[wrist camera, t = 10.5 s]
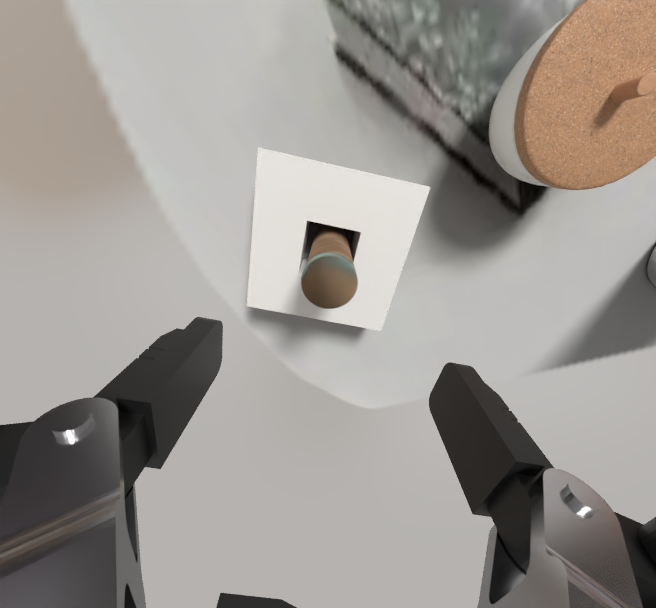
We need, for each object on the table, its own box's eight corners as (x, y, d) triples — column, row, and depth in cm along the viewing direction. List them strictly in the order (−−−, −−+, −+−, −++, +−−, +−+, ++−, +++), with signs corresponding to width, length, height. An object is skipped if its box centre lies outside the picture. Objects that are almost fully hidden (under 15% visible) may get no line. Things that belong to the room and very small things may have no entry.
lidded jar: (539, 203, 25) (641, 215, 17) (443, 162, 24) (503, 153, 16) (628, 70, 21) (827, -2, 13) (517, 10, 20) (657, -118, 11)
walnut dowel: (351, 228, 27) (364, 261, 16) (343, 262, 28) (350, 313, 18) (316, 220, 27) (305, 250, 16) (310, 255, 28) (296, 303, 17)
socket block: (414, 185, 25) (430, 187, 21) (374, 311, 31) (380, 330, 27) (270, 152, 24) (257, 147, 20) (258, 288, 30) (246, 306, 26)
